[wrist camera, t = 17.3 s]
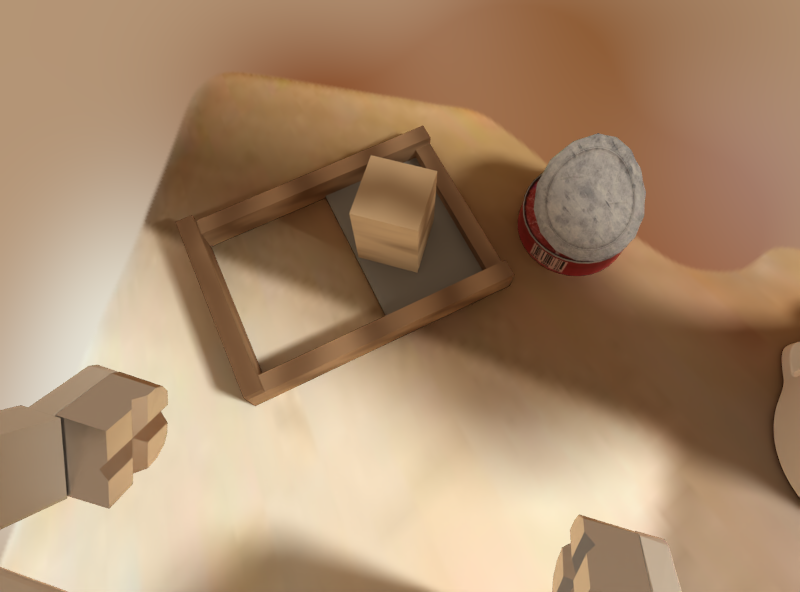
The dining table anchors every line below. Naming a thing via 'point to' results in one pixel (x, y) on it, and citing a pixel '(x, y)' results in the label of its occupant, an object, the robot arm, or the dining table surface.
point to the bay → (393, 287)
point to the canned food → (583, 207)
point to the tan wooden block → (394, 213)
